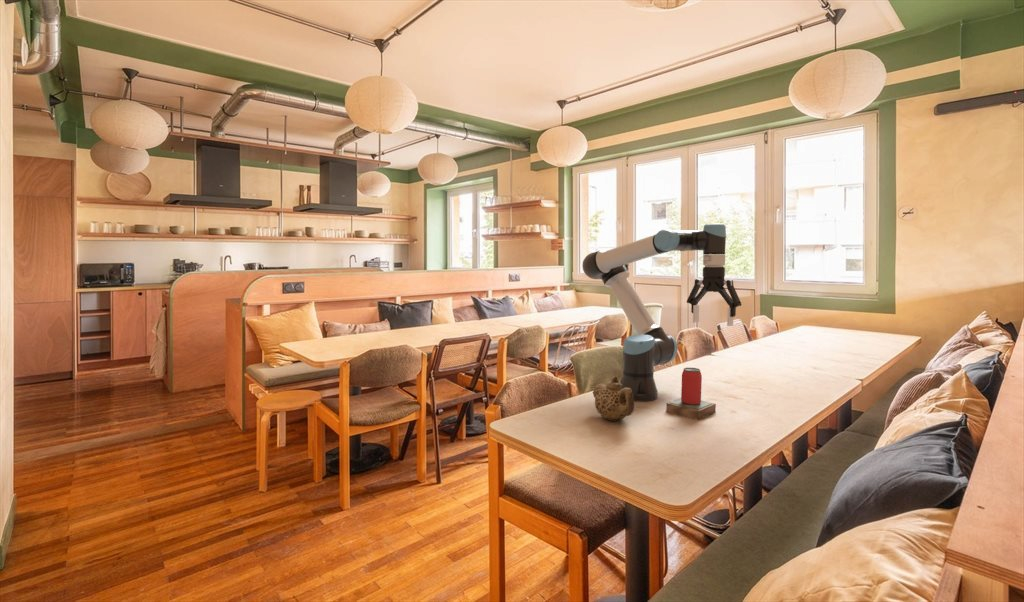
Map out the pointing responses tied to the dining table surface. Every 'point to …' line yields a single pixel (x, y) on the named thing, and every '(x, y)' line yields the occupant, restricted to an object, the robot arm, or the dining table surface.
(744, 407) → the dining table surface
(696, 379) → the beer can
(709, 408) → the pedestal
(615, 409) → the teapot
